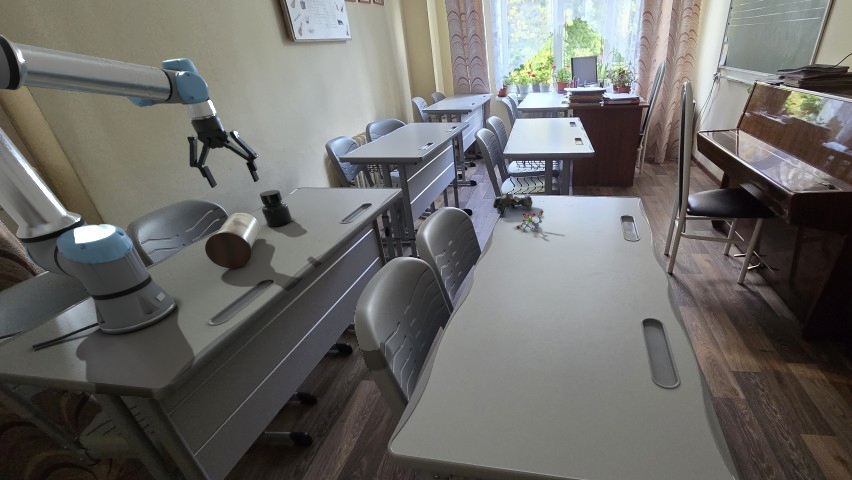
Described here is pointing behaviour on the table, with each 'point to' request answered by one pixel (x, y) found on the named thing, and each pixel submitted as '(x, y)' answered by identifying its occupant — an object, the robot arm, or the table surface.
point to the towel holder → (233, 241)
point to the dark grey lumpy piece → (511, 202)
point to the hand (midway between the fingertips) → (235, 183)
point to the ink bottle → (275, 208)
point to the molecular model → (530, 221)
